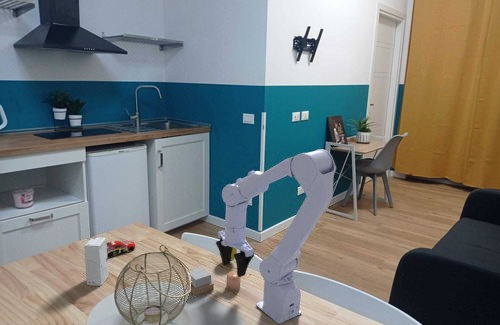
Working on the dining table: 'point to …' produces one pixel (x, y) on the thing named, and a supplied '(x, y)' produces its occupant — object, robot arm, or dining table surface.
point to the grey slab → (200, 277)
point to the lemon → (233, 254)
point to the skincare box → (96, 261)
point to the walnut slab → (202, 289)
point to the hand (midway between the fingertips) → (233, 269)
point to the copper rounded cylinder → (233, 282)
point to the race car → (119, 247)
